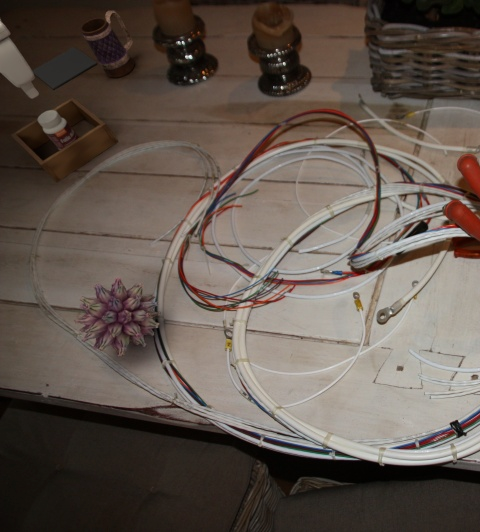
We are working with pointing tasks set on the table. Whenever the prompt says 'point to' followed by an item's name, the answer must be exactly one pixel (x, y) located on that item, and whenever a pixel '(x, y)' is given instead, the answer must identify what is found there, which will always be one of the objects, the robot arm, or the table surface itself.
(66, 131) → the pill bottle
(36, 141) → the storage box
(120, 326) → the flower
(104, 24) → the mug
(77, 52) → the mat
